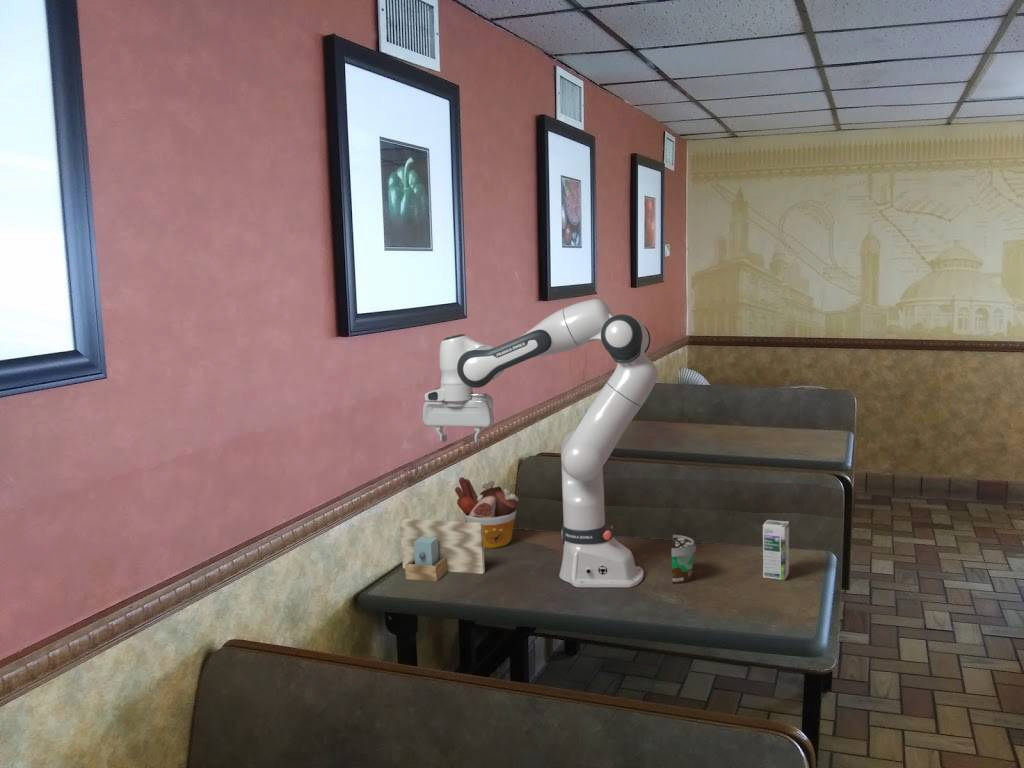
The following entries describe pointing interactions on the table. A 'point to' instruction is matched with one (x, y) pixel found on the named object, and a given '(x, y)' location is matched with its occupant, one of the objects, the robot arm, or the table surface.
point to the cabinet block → (426, 551)
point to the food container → (682, 559)
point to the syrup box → (776, 549)
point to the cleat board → (443, 547)
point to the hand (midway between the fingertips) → (459, 441)
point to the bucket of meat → (489, 511)
